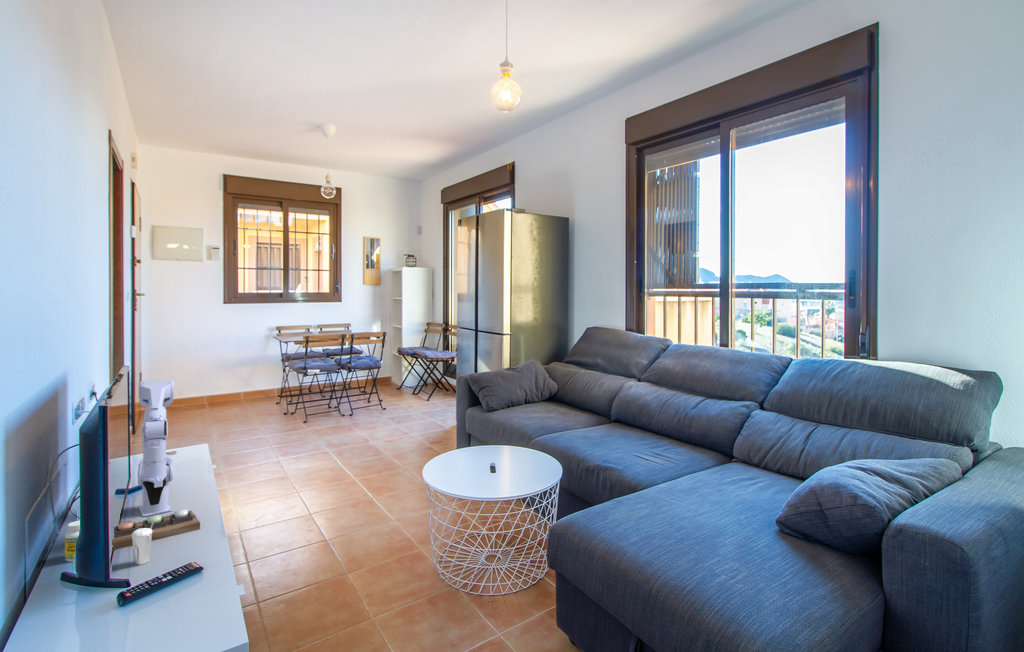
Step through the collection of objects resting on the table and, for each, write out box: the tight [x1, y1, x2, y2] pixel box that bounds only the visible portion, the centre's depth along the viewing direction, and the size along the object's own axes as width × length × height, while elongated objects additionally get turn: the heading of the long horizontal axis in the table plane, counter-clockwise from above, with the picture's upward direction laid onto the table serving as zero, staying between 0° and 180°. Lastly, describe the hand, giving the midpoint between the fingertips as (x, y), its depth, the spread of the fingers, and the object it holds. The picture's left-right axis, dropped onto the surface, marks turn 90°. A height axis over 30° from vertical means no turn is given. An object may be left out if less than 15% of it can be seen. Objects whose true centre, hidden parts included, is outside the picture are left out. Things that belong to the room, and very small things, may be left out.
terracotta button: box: [117, 520, 134, 531], centre depth 149 cm, size 4×4×2 cm
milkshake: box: [132, 522, 154, 566], centre depth 136 cm, size 4×5×10 cm
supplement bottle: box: [64, 520, 80, 562], centre depth 138 cm, size 5×5×10 cm
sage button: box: [146, 514, 162, 525], centre depth 154 cm, size 4×4×2 cm
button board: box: [111, 510, 201, 551], centre depth 154 cm, size 12×22×4 cm, turn 133°
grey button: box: [173, 508, 189, 519], centre depth 159 cm, size 4×4×2 cm
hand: (154, 504), depth 154 cm, fingers closed
